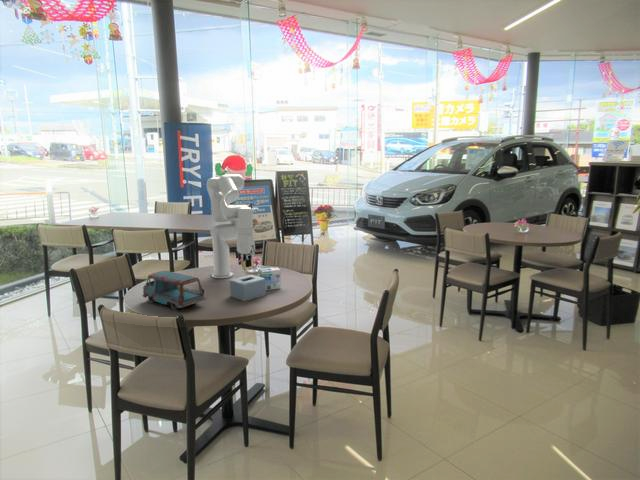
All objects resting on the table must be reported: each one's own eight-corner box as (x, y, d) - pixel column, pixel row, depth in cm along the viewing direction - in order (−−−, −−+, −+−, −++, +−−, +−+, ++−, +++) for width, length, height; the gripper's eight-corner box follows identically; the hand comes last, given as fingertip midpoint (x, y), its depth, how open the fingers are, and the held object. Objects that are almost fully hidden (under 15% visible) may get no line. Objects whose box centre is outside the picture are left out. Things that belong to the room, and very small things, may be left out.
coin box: (230, 296, 238) (229, 279, 236) (251, 290, 248) (250, 274, 246) (244, 301, 230) (243, 284, 228) (265, 294, 240) (265, 278, 238)
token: (243, 270, 236) (240, 261, 234) (250, 265, 239) (247, 257, 237) (246, 270, 234) (243, 262, 232) (253, 266, 237) (250, 257, 235)
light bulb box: (262, 290, 248) (261, 271, 245) (259, 287, 254) (258, 268, 252) (281, 288, 251) (280, 269, 249) (277, 285, 258) (277, 266, 255)
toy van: (167, 294, 243) (165, 266, 240) (207, 305, 225) (205, 276, 222) (141, 302, 231) (138, 273, 228) (181, 314, 213) (179, 283, 210)
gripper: (230, 230, 235) (232, 265, 238) (249, 234, 224) (250, 270, 228) (242, 228, 240) (243, 262, 244) (261, 232, 230) (262, 267, 233)
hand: (247, 266), depth 236 cm, fingers closed on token, 2 cm apart
